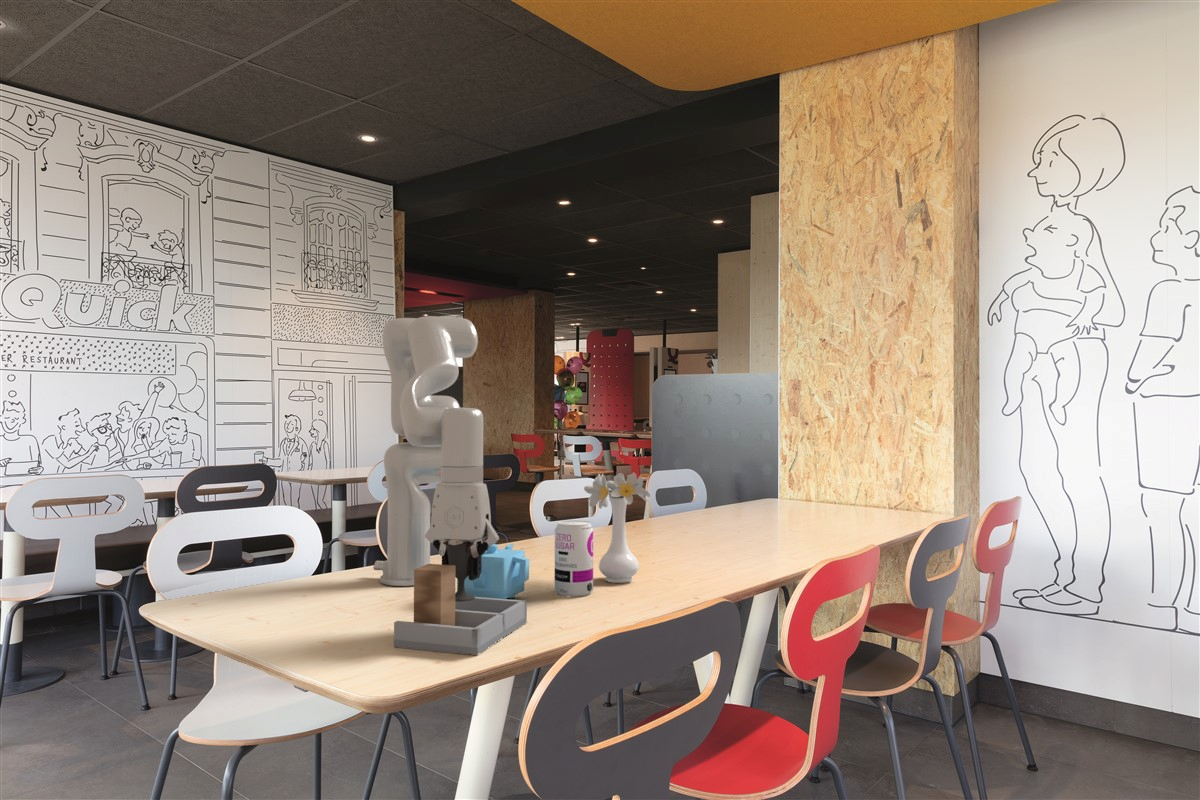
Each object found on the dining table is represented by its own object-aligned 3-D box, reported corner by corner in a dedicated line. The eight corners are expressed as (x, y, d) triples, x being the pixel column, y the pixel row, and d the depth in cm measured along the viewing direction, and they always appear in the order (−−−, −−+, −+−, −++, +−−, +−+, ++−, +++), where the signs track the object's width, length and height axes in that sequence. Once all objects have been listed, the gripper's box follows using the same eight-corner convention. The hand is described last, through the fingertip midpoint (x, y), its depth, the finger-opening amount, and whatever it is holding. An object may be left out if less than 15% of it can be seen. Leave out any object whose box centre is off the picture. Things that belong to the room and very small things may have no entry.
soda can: (594, 589, 166) (595, 520, 166) (590, 598, 158) (590, 525, 158) (558, 588, 167) (558, 519, 167) (551, 597, 159) (552, 525, 159)
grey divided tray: (393, 646, 124) (394, 622, 124) (452, 616, 143) (452, 595, 143) (477, 655, 119) (477, 629, 120) (526, 622, 139) (526, 600, 139)
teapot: (436, 605, 151) (437, 548, 151) (481, 587, 168) (481, 535, 168) (508, 613, 146) (508, 553, 146) (546, 593, 163) (547, 540, 163)
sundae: (448, 604, 132) (448, 517, 133) (438, 596, 138) (438, 513, 138) (485, 600, 135) (484, 515, 136) (473, 592, 141) (473, 511, 142)
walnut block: (413, 636, 126) (414, 569, 126) (428, 628, 131) (429, 563, 131) (440, 638, 124) (441, 571, 125) (455, 630, 129) (455, 565, 129)
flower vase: (608, 570, 186) (608, 468, 187) (664, 582, 173) (664, 472, 173) (568, 578, 178) (568, 470, 178) (623, 591, 164) (623, 475, 165)
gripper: (409, 476, 136) (409, 579, 136) (496, 478, 131) (495, 585, 131) (430, 473, 143) (430, 571, 143) (513, 475, 138) (513, 576, 138)
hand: (461, 576), depth 137 cm, fingers closed on sundae, 4 cm apart
